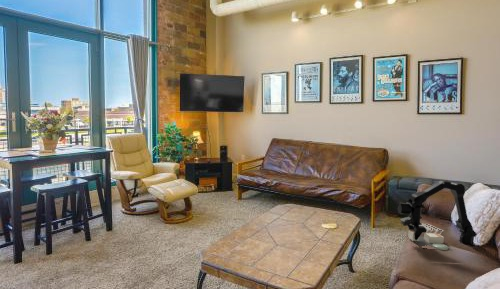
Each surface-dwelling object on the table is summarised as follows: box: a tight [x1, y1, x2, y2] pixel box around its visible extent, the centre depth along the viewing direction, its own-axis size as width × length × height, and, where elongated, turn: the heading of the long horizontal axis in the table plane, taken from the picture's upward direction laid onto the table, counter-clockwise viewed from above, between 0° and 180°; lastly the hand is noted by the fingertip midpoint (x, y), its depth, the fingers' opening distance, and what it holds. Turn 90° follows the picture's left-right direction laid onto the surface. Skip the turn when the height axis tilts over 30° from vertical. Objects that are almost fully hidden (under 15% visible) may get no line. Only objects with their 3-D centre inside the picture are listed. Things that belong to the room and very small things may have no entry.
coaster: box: [432, 243, 450, 251], centre depth 195 cm, size 8×8×1 cm
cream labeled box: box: [423, 232, 445, 244], centre depth 203 cm, size 9×6×4 cm, turn 88°
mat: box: [414, 235, 453, 252], centre depth 201 cm, size 17×21×1 cm
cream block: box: [407, 229, 419, 242], centre depth 204 cm, size 4×6×5 cm, turn 178°
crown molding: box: [419, 222, 445, 235], centre depth 225 cm, size 24×1×20 cm
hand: (413, 238), depth 204 cm, fingers closed on cream block, 6 cm apart
